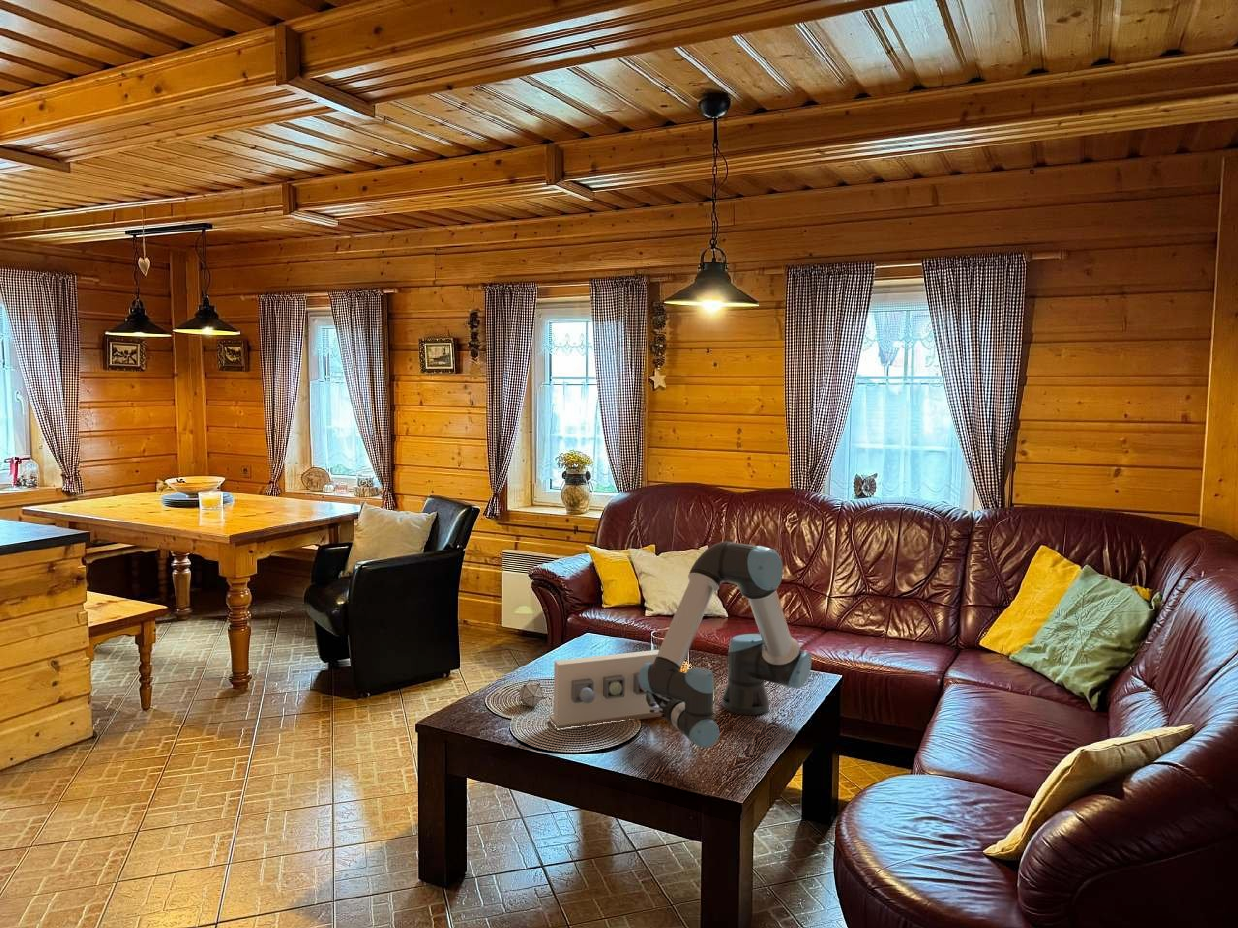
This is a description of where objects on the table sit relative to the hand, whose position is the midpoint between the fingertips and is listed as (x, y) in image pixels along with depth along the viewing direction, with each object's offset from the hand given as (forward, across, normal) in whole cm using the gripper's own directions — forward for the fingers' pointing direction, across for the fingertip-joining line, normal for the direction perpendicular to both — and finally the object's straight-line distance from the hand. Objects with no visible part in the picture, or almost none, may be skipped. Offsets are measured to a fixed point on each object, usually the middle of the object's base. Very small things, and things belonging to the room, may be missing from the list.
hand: (646, 685), depth 253 cm
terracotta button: (+1, 0, -2) cm, 2 cm away
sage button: (+2, -10, -2) cm, 10 cm away
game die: (+25, -29, -12) cm, 40 cm away
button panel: (+6, -10, -12) cm, 17 cm away
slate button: (-1, -20, -2) cm, 20 cm away
